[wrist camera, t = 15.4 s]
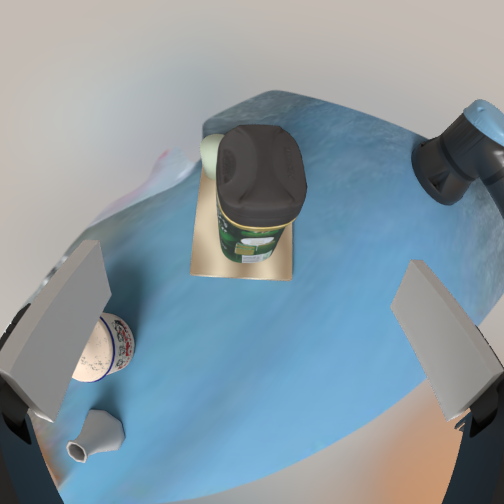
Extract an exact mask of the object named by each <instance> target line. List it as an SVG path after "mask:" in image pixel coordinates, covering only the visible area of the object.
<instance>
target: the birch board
mask: <svg viewBox="0 0 504 504" xmlns="http://www.w3.org/2000/svg"><path fill="white" fill-rule="evenodd" d="M190 274H191V275H193V276H207V277H222V278H239V279H257V280H276V281H290V280H292V223H291V224H289V225H288V226H286V227H285V229H284V231H283V233H282V235H281V237H280V239H279V241H278V243H277V246H276V248H275V250H274V251H273V253H272V255H271V256H270V257H269V258H267V259H266V260H264V261H260V262H255V263H238V262H233V261H231V260H229V259H228V258H227V257H226V256H225V255H224V254H223V252H222V249H221V245H220V239H219V229H218V216H217V206H216V181H214V180H211V179H209V178H208V177H207V176H206V175H205V173H204V168H203V166H202V173H201V180H200V187H199V195H198V202H197V211H196V219H195V228H194V237H193V246H192V257H191V268H190Z"/></svg>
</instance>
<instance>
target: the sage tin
mask: <svg viewBox="0 0 504 504" xmlns="http://www.w3.org/2000/svg"><path fill="white" fill-rule="evenodd" d="M224 136H225V135H222V134H212V135H209V136H207V137H206V138H204V139H203V140H202V142H201V144H200V152H201V157H202V163H203V168H204V173H205V175H206V176H207V177H208V178H209V179H211V180H214V181H216V163H217V152H218V146H219V143H220V141H221V140H222V138H223V137H224Z"/></svg>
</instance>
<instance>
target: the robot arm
mask: <svg viewBox="0 0 504 504" xmlns="http://www.w3.org/2000/svg"><path fill="white" fill-rule="evenodd" d="M412 165H413V169H414V172H415V174H416V177H417V179H418V180H419V182H420V184H421V185H422V187H423V188H424V189H425V191H426V192H427V193H428V194H429V195H430V196H431V197H432V198H433V199H434V200H436V201H437V202H439V203H441V204H443V205H453V204H454V203H456V202H457V201H459V200H460V199H461V198H462V197H463V195H464V193H465V192H466V190H467V189H468V187H469V186H470V184H471V183H472V182H473V181H474V180H475V179H477V178H478V177H480V179H481V180H482V182H483V183H484V185H485V186H486V188H487V190H488V191H489V193H490V195H491V197H492V198H493V200H494V202H495V204H496V205H497V207H498V209H499V211H500V213H501V215H502V217H503V219H504V114H503V113H502V112H501V111H500V110H499V109H498V108H496V107H495V106H494V105H492V104H491V103H489V102H487V101H485V100H480V99H479V100H475V101H474V102H473V103H472V104H471V105H470V106H469V107H467V108H465V109H464V110H463V113H462V114H461V115H460V116H459V117H458V118H457V119H456V120H455V121H454V122H453V123H452V124H451V125H450V126H449V127H448V128H447V129H446V130H445V131H444V132H443V133H442V134H441V135H440V136H438V137H435V138H433V139H430V140H427V141H425V142H423V143H421V144H420V145H418V146H417V147H416V149H415V150H414V151H413V153H412ZM111 295H112V294H111V290H110V287H109V283H108V279H107V274H106V270H105V266H104V261H103V256H102V252H101V247H100V241H98V240H84V241H83V242H82V243H81V244H80V245H79V246H78V247H77V248H76V249H75V250H74V252H73V253H72V254H71V255H70V256H69V257H68V258H67V260H66V261H65V262H64V263H63V264H62V265H61V267H60V268H59V269H58V270H57V271H56V273H55V274H54V275H53V276H52V278H51V279H50V280H49V281H48V283H47V284H46V285H45V286H44V288H43V289H42V290H41V292H40V293H39V294H38V296H37V297H36V298H35V300H34V301H33V302H32V304H30V303H29V304H27V305H26V306H25V307H24V308H22V309H21V310H20V311H19V312H18V313H17V315H16V316H15V317H14V319H13V320H12V324H10V325H9V326H8V328H7V329H6V333H5V332H4V334H3V335H2V337H1V338H0V504H64V502H63V501H62V499H61V497H60V495H59V493H58V491H57V489H56V486H55V485H54V482H53V480H52V478H51V475H50V473H49V471H48V468H47V466H46V463H45V461H44V458H43V456H42V453H41V450H40V447H39V445H38V442H37V439H36V435H35V432H34V429H33V426H32V422H31V419H30V417H29V415H28V414H27V411H28V408H30V409H31V410H32V411H33V412H34V413H35V414H36V415H37V416H39V417H41V418H43V419H46V420H48V421H50V422H53V423H55V420H56V418H57V415H58V412H59V409H60V406H61V404H62V401H63V398H64V396H65V393H66V391H67V388H68V386H69V383H70V381H71V378H72V376H73V373H74V371H75V369H76V366H77V364H78V362H79V360H80V357H81V355H82V353H83V351H84V348H85V346H86V344H87V342H88V340H89V338H90V336H91V334H92V332H93V330H94V328H95V326H96V324H97V322H98V320H99V318H100V316H101V314H102V312H103V310H104V308H105V306H106V304H107V302H108V300H109V299H110V297H111ZM390 308H391V310H392V312H393V313H394V315H395V317H396V319H397V320H398V322H399V324H400V326H401V328H402V329H403V331H404V333H405V335H406V337H407V339H408V341H409V342H410V344H411V346H412V348H413V350H414V352H415V354H416V356H417V358H418V360H419V362H420V364H421V366H422V368H423V370H424V372H425V374H426V376H427V378H428V380H429V382H430V384H431V387H432V389H433V391H434V393H435V396H436V398H437V400H438V402H439V405H440V407H441V409H442V412H443V414H444V416H445V419H446V421H449V420H452V419H454V418H456V417H458V416H460V415H461V414H462V413H463V412H464V411H466V410H467V409H468V408H470V410H471V412H469V413H468V414H467V415H466V416H465V417H464V418H463V419H461V420H460V421H459V422H458V423H457V424H456V426H455V429H457V428H458V427H460V426H461V425H462V424H463V423H465V424H464V425H463V426H462V427H461V428H460V429H459V431H462V432H463V436H462V440H461V444H460V449H459V453H458V457H457V460H456V464H455V467H454V470H453V474H452V477H451V480H450V483H449V486H448V488H447V492H446V494H445V497H444V499H443V502H442V504H504V367H503V365H502V364H501V362H500V361H499V359H498V357H497V356H496V354H495V353H494V351H493V349H492V348H491V346H489V345H488V344H489V343H488V342H487V340H486V339H485V338H484V336H483V334H482V333H481V332H480V330H479V329H478V327H477V326H476V325H474V323H473V322H472V321H471V319H470V318H469V317H468V315H467V314H466V312H465V311H464V310H463V308H462V307H461V306H460V305H459V303H458V302H457V301H456V299H455V298H454V297H453V296H452V294H451V293H450V292H449V291H448V289H447V288H446V287H445V286H444V284H443V283H442V282H441V281H440V280H439V278H438V277H437V276H436V275H435V274H434V273H433V271H432V270H431V269H430V268H429V267H428V266H427V265H426V263H425V262H424V261H423V260H410V262H409V265H408V267H407V270H406V272H405V275H404V277H403V279H402V282H401V284H400V286H399V289H398V291H397V293H396V295H395V297H394V300H393V302H392V304H391V306H390Z"/></svg>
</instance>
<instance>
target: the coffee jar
mask: <svg viewBox="0 0 504 504" xmlns="http://www.w3.org/2000/svg"><path fill="white" fill-rule="evenodd" d="M306 192H307V183H306V178H305V171H304V166H303V161H302V156H301V153H300V150H299V147H298V145H297V143H296V141H295V140H294V139H293V137H292V136H291V135H290V134H289V133H288V132H286V131H285V130H283V129H282V128H281V127H280V126H273V125H239V126H237V127H236V128H234V129H232V130H230V131H229V132H228V133H227V134H226V135H225V136H224V137H223V138H222V140H221V141H220V143H219V146H218V152H217V163H216V206H217V216H218V229H219V239H220V245H221V249H222V252H223V254H224V255H225V256H226V257H227V258H228V259H229V260H231V261H233V262H238V263H255V262H260V261H264V260H266V259H267V258H269V257H270V256H271V255H272V253H273V251H274V250H275V248H276V246H277V243H278V241H279V239H280V237H281V235H282V233H283V231H284V229H285V227H286V226H288V225H289V224H291V223H292V222H293V221H294V220H295V219H296V218H297V216H298V214H299V213H300V211H301V208H302V206H303V203H304V201H305V197H306Z"/></svg>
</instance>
